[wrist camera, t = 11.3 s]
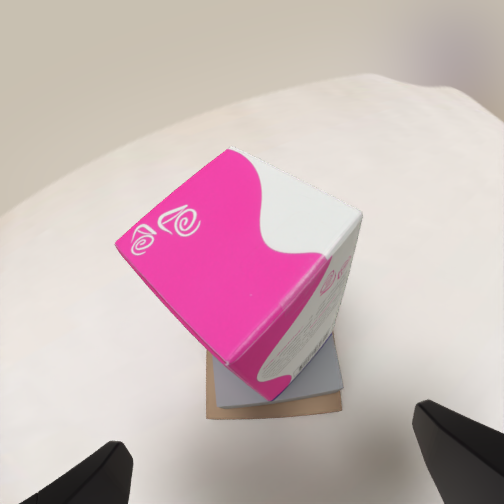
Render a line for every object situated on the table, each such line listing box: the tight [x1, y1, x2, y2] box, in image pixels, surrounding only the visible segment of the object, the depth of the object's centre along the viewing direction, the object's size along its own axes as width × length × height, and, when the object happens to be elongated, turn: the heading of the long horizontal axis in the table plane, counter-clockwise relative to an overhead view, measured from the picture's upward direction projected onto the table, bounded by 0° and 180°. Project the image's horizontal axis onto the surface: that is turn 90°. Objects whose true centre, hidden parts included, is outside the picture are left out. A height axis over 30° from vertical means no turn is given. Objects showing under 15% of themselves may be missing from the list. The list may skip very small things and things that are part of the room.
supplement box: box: [115, 146, 363, 401], centre depth 13 cm, size 6×6×12 cm
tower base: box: [206, 331, 342, 419], centre depth 21 cm, size 9×9×2 cm
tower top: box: [212, 335, 343, 409], centre depth 19 cm, size 8×8×2 cm
